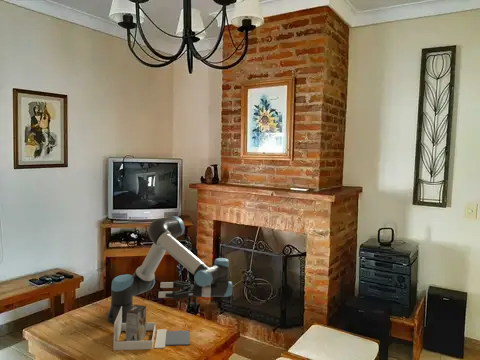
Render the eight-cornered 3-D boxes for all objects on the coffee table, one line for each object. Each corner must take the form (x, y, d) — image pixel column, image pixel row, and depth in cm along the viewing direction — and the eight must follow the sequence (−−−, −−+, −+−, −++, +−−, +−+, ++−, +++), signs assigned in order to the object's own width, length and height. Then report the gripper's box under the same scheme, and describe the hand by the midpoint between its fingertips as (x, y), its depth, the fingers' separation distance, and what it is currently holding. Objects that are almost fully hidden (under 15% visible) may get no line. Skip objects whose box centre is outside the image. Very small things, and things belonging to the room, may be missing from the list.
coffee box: (134, 334, 193) (135, 304, 192) (145, 336, 192) (146, 305, 191) (125, 342, 184) (126, 311, 183) (137, 344, 183) (138, 312, 182)
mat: (166, 332, 197) (166, 331, 197) (189, 331, 199) (189, 330, 199) (165, 345, 183) (165, 344, 183) (189, 344, 185) (189, 343, 185)
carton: (120, 330, 196) (121, 306, 196) (166, 329, 200) (167, 305, 199) (113, 350, 177) (114, 323, 176) (164, 348, 180) (165, 322, 179)
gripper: (202, 306, 179) (157, 307, 176) (200, 287, 203) (161, 288, 200) (203, 290, 178) (158, 291, 175) (201, 274, 203) (161, 274, 200)
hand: (159, 289), depth 188 cm, fingers open, 13 cm apart
